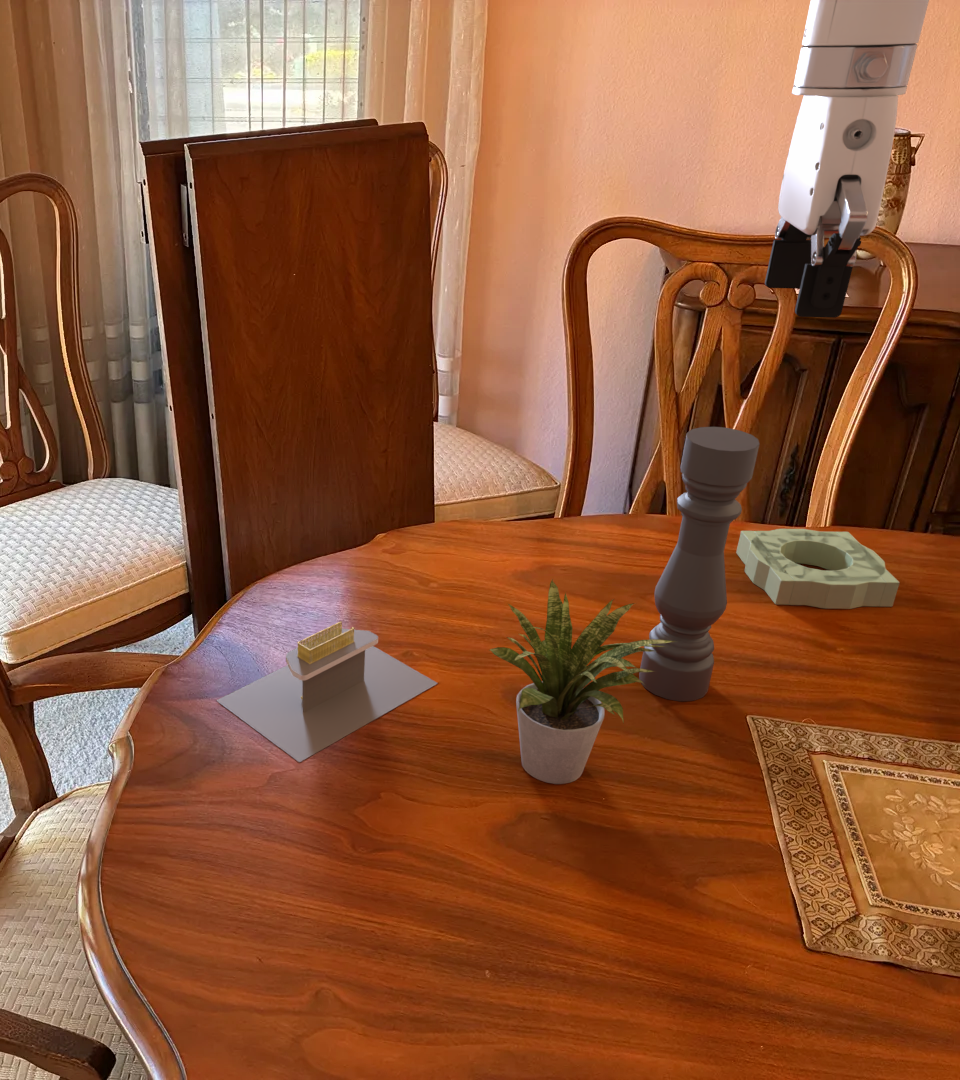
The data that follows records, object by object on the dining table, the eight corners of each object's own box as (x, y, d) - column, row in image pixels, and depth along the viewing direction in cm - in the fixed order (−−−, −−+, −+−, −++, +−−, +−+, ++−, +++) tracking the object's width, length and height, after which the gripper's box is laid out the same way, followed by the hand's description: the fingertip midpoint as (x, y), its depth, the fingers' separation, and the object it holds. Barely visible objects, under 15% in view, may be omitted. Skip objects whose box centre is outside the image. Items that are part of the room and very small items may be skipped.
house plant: (595, 860, 76) (627, 683, 68) (436, 783, 84) (449, 618, 76) (664, 764, 85) (699, 599, 78) (515, 703, 93) (534, 549, 86)
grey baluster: (712, 674, 97) (766, 432, 85) (702, 708, 92) (758, 457, 80) (645, 657, 99) (689, 421, 88) (632, 689, 95) (677, 444, 83)
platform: (216, 700, 95) (213, 642, 92) (351, 633, 105) (352, 579, 102) (299, 762, 87) (299, 701, 84) (438, 683, 97) (442, 625, 94)
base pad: (845, 551, 118) (851, 529, 116) (901, 610, 106) (909, 585, 105) (728, 550, 119) (733, 527, 118) (771, 607, 107) (777, 583, 106)
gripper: (955, 77, 66) (886, 330, 74) (868, 67, 81) (819, 279, 89) (831, 79, 68) (776, 327, 76) (769, 69, 83) (729, 277, 91)
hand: (799, 301), depth 82 cm, fingers open, 9 cm apart
